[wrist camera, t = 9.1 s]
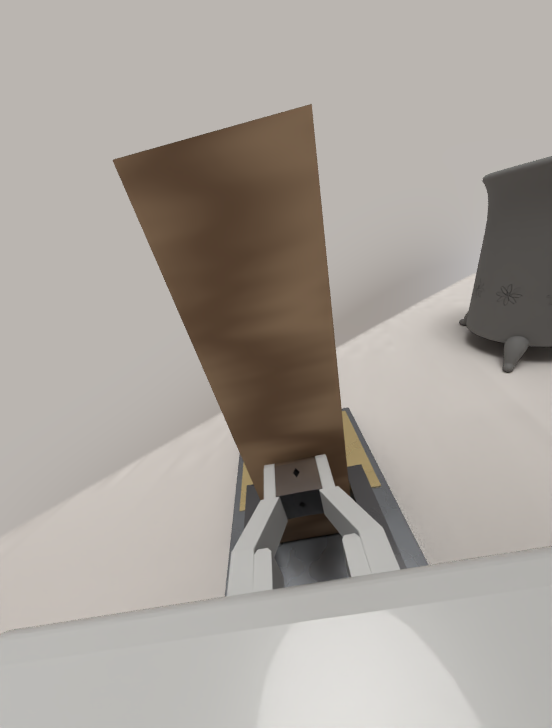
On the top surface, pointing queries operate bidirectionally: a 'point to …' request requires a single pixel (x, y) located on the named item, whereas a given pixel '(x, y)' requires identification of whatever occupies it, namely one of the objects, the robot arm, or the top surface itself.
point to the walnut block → (251, 285)
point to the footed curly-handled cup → (515, 262)
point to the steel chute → (326, 552)
